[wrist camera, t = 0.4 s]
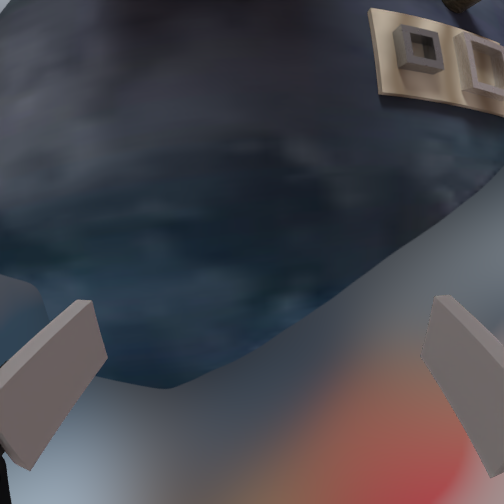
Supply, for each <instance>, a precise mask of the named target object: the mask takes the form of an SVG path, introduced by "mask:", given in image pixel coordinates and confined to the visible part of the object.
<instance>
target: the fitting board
mask: <svg viewBox="0 0 504 504" xmlns="http://www.w3.org/2000/svg"><path fill="white" fill-rule="evenodd" d="M367 13H368V18H369V24H370V30H371V36H372V43H373V50H374V57H375V66H376V74H377V84H378V94H380V95H389V96H398V97H406V98H413V99H420V100H427V101H433V102H438V103H444V104H449V105H454V106H459V107H464V108H469V109H473V110H477V111H482V112H486V113H490V114H493V115H497V116H501V117H504V47H503V46H501V45H500V43H497V42H495V41H492V40H490V39H487V38H485V37H482V36H479V35H477V34H474V33H471V32H468V31H465V30H462V29H459V28H456V27H453V26H450V25H446V24H443V23H439V22H436V21H432V20H428V19H424V18H420V17H416V16H412V15H407V14H402V13H397V12H392V11H387V10H381V9H374V8H370V10H369V11H368V12H367Z"/></svg>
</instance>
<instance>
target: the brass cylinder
mask: <svg viewBox="0 0 504 504" xmlns="http://www.w3.org/2000/svg"><path fill="white" fill-rule="evenodd" d="M442 1H443V3H444V4H445V5H446V7H447V8H449V9H450V10H451V11H453V12H455V13H462V12H464V11H465V10H467V9H468V8H470V7H472V6H473V5H475V4H476V3H478V2H479V1H481V0H442Z"/></svg>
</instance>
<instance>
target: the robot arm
mask: <svg viewBox="0 0 504 504" xmlns="http://www.w3.org/2000/svg"><path fill="white" fill-rule="evenodd" d="M420 357H421V358H422V360H423V361H424V363H425V364H426V366H427V368H428V369H429V371H430V372H431V374H432V375H433V377H434V379H435V380H436V382H437V383H438V385H439V387H440V388H441V390H442V391H443V393H444V395H445V397H446V398H447V400H448V401H449V403H450V405H451V407H452V408H453V410H454V411H455V413H456V415H457V417H458V419H459V420H460V422H461V424H462V425H463V427H464V429H465V431H466V433H467V435H468V436H469V438H470V440H471V442H472V444H473V445H474V447H475V449H476V451H477V453H478V455H479V457H480V459H481V461H482V463H483V464H484V466H485V468H486V471H487V472H488V475H489V476H490V478H492V477H494V476H497V475H499V474H501V473H503V472H504V345H503V344H502V343H501V342H500V341H499V340H498V339H497V338H495V336H494V335H493V334H491V332H489V330H487V329H486V328H485V327H484V326H483V325H482V324H481V323H480V322H479V321H478V320H477V319H476V318H475V317H474V316H473V315H472V314H471V313H470V312H468V311H467V310H466V309H465V308H464V307H463V306H462V305H461V304H460V303H458V301H456V300H455V299H454V298H453V297H452V296H451V295H442V296H434V300H433V305H432V310H431V315H430V319H429V324H428V328H427V332H426V336H425V340H424V344H423V348H422V352H421V355H420ZM107 358H108V357H107V354H106V351H105V347H104V344H103V341H102V337H101V334H100V330H99V326H98V323H97V319H96V315H95V311H94V307H93V303H92V300H76V301H75V302H74V303H72V304H71V305H70V306H69V307H68V308H66V309H65V310H64V311H63V312H62V313H61V314H59V315H58V316H57V317H56V318H55V319H54V320H53V321H51V322H50V323H49V324H48V325H47V326H46V327H45V328H43V329H42V330H41V331H40V332H39V333H38V334H37V335H36V336H34V337H33V338H32V339H31V340H30V341H29V342H28V343H27V344H26V345H24V347H22V348H21V349H20V350H19V351H18V352H17V353H16V354H15V355H14V356H13V357H12V358H11V359H9V360H8V361H6V362H5V363H4V364H3V365H2V366H1V367H0V504H11V498H10V492H9V485H8V477H7V469H6V463H5V460H4V459H3V457H2V454H3V453H4V452H6V453H7V454H8V456H9V457H10V458H11V459H12V461H13V462H14V463H15V464H17V465H19V466H21V467H23V468H25V469H27V470H29V471H31V469H32V468H33V466H34V465H35V463H36V461H37V460H38V458H39V457H40V455H41V454H42V452H43V451H44V449H45V448H46V446H47V444H48V443H49V441H50V440H51V438H52V437H53V435H54V434H55V432H56V431H57V429H58V428H59V426H60V425H61V423H62V422H63V420H64V419H65V417H66V416H67V415H68V413H69V412H70V410H71V409H72V407H73V406H74V405H75V403H76V402H77V400H78V399H79V397H80V396H81V394H82V393H83V392H84V390H85V389H86V387H87V386H88V385H89V383H90V382H91V380H92V379H93V378H94V376H95V375H96V373H97V372H98V371H99V369H100V368H101V367H102V365H103V364H104V362H105V361H106V360H107Z"/></svg>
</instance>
